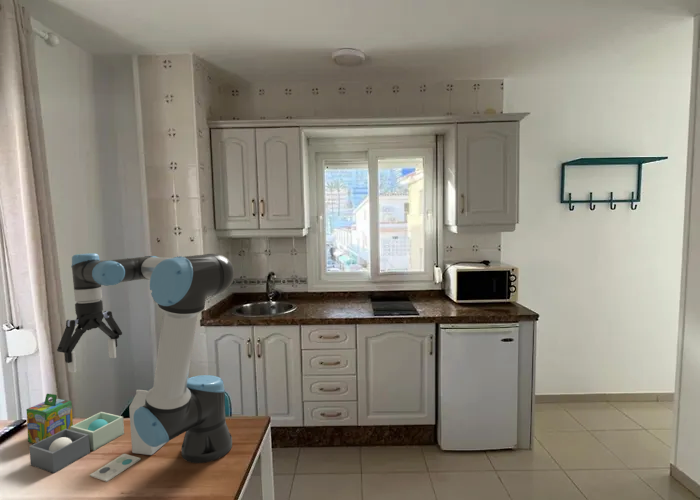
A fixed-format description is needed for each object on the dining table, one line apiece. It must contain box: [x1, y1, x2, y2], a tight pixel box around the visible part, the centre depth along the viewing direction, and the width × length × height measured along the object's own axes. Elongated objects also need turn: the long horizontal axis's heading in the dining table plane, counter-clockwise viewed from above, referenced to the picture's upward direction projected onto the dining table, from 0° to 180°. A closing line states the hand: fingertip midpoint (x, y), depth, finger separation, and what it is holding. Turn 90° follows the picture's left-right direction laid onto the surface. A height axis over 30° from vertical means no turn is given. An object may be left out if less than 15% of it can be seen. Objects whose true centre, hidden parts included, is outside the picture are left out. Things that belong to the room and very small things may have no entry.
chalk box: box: [26, 393, 74, 444], centre depth 134 cm, size 9×9×15 cm
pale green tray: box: [70, 411, 125, 451], centre depth 133 cm, size 11×11×6 cm
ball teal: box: [88, 419, 108, 431], centre depth 133 cm, size 6×6×6 cm
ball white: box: [49, 437, 72, 452], centre depth 122 cm, size 6×6×6 cm
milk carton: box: [128, 389, 166, 456], centre depth 127 cm, size 7×7×19 cm
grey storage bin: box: [28, 429, 91, 474], centre depth 122 cm, size 11×11×6 cm
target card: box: [89, 453, 141, 483], centre depth 118 cm, size 7×11×1 cm, turn 158°
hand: (93, 364), depth 131 cm, fingers open, 13 cm apart
